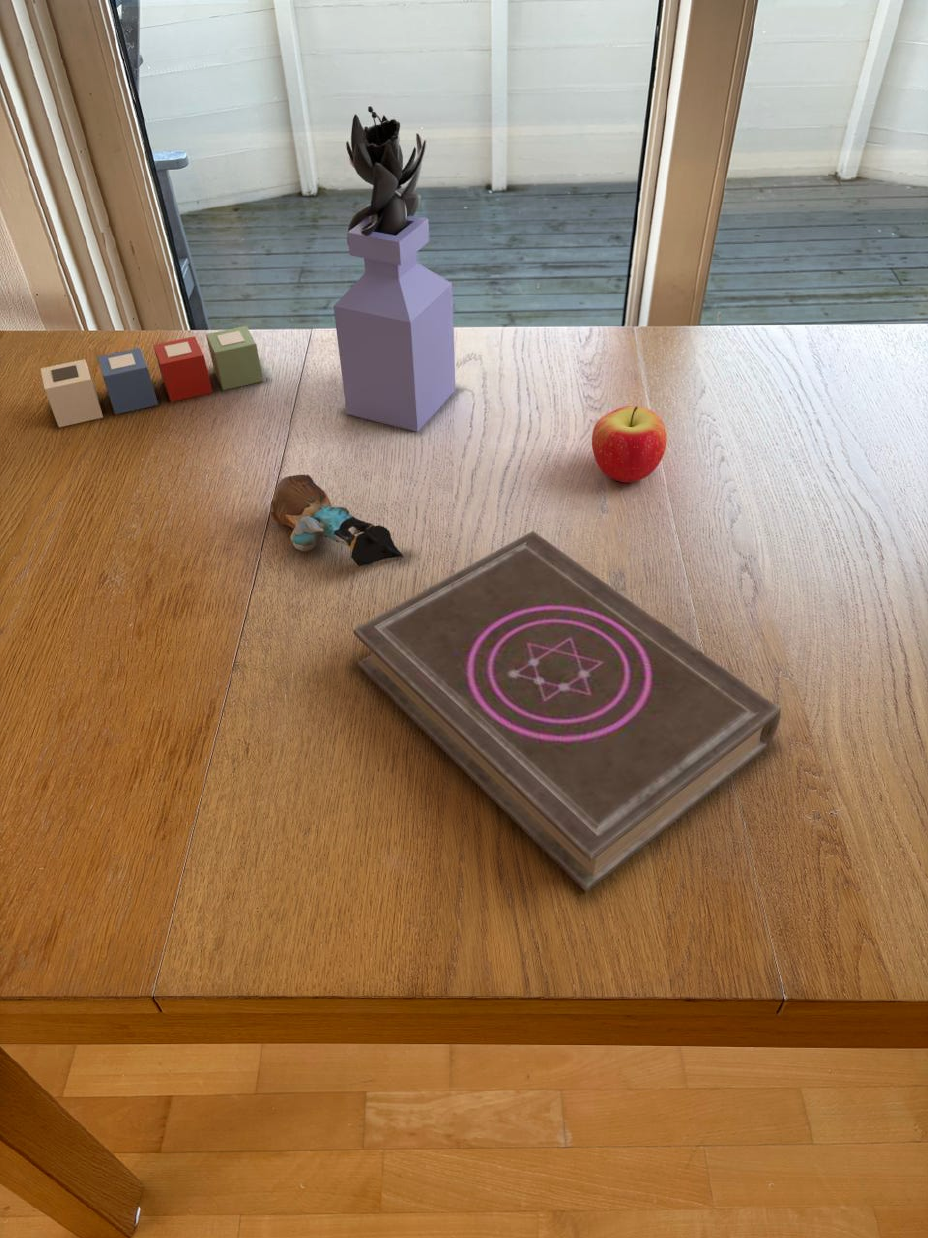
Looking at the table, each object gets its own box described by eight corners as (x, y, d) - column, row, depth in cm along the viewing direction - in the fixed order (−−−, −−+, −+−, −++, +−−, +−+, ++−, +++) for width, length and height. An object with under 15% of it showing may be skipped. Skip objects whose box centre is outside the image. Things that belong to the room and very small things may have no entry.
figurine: (309, 499, 108) (301, 454, 104) (405, 557, 100) (401, 512, 96) (257, 530, 104) (247, 485, 100) (353, 594, 96) (346, 548, 92)
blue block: (115, 414, 122) (102, 375, 118) (109, 394, 125) (96, 355, 121) (158, 405, 123) (147, 366, 119) (151, 384, 127) (140, 346, 123)
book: (358, 666, 89) (352, 629, 86) (535, 565, 99) (536, 527, 95) (586, 893, 72) (590, 857, 68) (772, 743, 82) (785, 705, 78)
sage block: (222, 390, 125) (214, 351, 121) (214, 371, 129) (205, 333, 125) (263, 381, 127) (256, 342, 123) (253, 362, 130) (246, 324, 126)
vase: (389, 361, 130) (365, 76, 105) (465, 379, 126) (458, 87, 101) (335, 414, 121) (294, 114, 96) (415, 434, 117) (394, 128, 92)
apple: (594, 497, 107) (601, 421, 100) (584, 454, 113) (590, 379, 106) (667, 494, 107) (679, 418, 100) (653, 451, 113) (664, 376, 106)
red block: (170, 402, 124) (160, 363, 120) (163, 382, 127) (152, 343, 123) (212, 392, 125) (203, 354, 121) (204, 373, 129) (194, 335, 125)
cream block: (58, 427, 120) (44, 388, 116) (54, 406, 123) (39, 367, 120) (103, 417, 121) (90, 378, 117) (97, 396, 125) (84, 358, 121)
